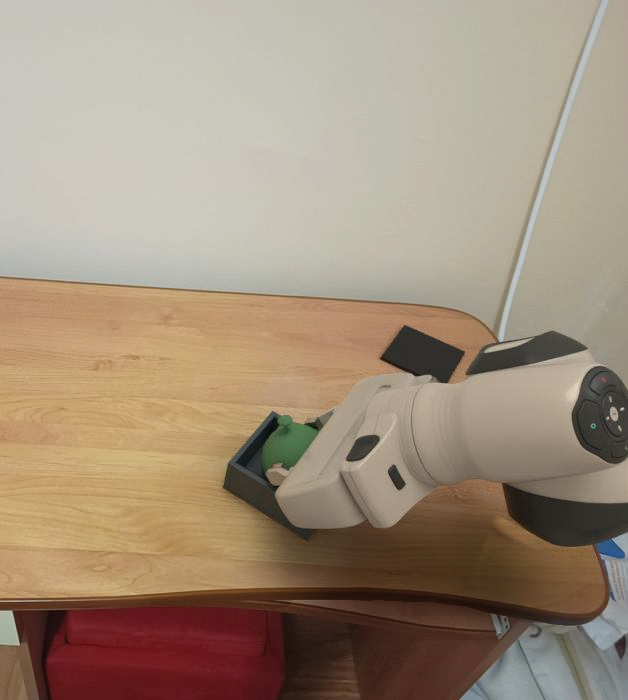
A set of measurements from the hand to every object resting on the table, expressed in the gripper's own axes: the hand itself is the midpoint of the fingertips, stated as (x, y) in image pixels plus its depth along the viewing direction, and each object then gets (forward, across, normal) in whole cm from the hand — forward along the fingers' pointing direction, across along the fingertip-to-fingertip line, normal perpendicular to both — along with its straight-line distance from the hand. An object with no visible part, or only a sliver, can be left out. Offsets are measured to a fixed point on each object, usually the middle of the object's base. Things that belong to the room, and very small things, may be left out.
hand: (290, 449), depth 67 cm
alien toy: (+4, 0, +4) cm, 6 cm away
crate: (+4, 0, +5) cm, 6 cm away
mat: (0, -32, +8) cm, 33 cm away
